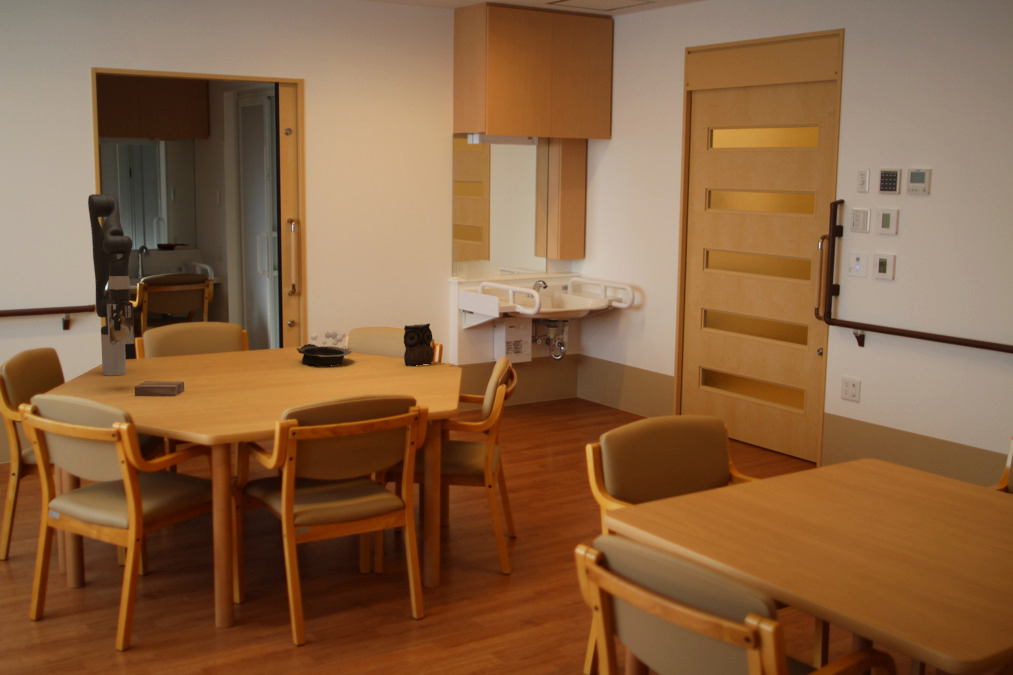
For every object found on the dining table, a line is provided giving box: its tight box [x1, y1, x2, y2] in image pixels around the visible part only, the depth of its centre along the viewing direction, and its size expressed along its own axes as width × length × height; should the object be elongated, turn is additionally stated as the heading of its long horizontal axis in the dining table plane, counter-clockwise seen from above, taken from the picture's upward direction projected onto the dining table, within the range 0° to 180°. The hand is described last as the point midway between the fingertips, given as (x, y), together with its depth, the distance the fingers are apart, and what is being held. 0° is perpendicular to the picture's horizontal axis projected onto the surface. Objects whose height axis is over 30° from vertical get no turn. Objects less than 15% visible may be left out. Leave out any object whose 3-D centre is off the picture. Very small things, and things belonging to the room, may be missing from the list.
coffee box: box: [106, 301, 136, 345], centre depth 380 cm, size 9×6×16 cm
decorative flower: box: [305, 330, 347, 358], centre depth 474 cm, size 25×22×14 cm
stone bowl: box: [296, 343, 352, 367], centre depth 448 cm, size 25×25×9 cm
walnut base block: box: [134, 380, 185, 397], centre depth 377 cm, size 12×15×4 cm
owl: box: [403, 323, 435, 367], centre depth 448 cm, size 13×13×20 cm
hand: (121, 329), depth 380 cm, fingers closed on coffee box, 8 cm apart
